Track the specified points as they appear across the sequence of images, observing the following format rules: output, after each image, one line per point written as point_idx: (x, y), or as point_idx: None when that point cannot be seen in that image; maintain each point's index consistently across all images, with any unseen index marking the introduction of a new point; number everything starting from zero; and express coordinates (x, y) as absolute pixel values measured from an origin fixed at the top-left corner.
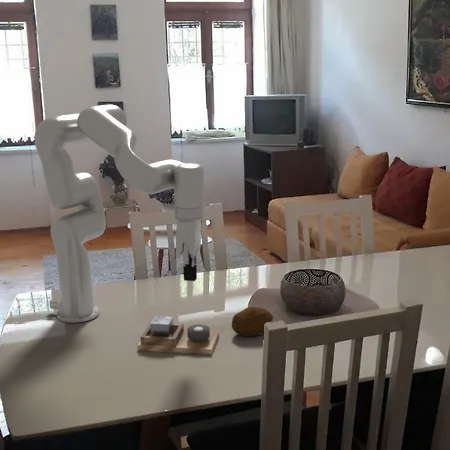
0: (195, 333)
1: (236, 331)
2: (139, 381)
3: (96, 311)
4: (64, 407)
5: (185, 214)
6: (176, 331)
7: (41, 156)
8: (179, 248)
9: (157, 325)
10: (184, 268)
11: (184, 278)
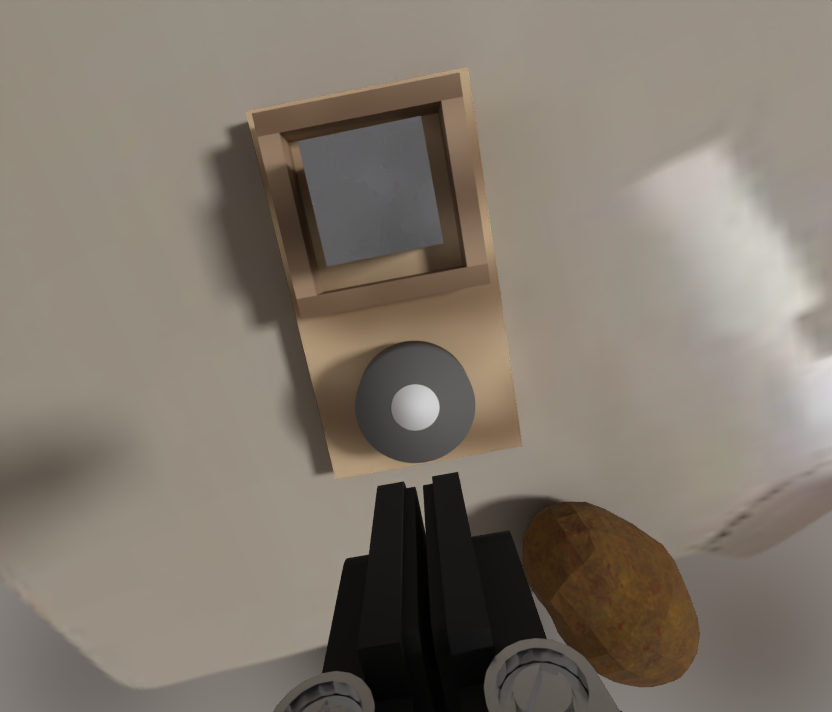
0: (358, 413)
1: (527, 529)
2: (3, 277)
3: None
4: None
5: None
6: (390, 285)
7: None
8: None
9: (310, 193)
10: (364, 625)
11: (378, 504)
